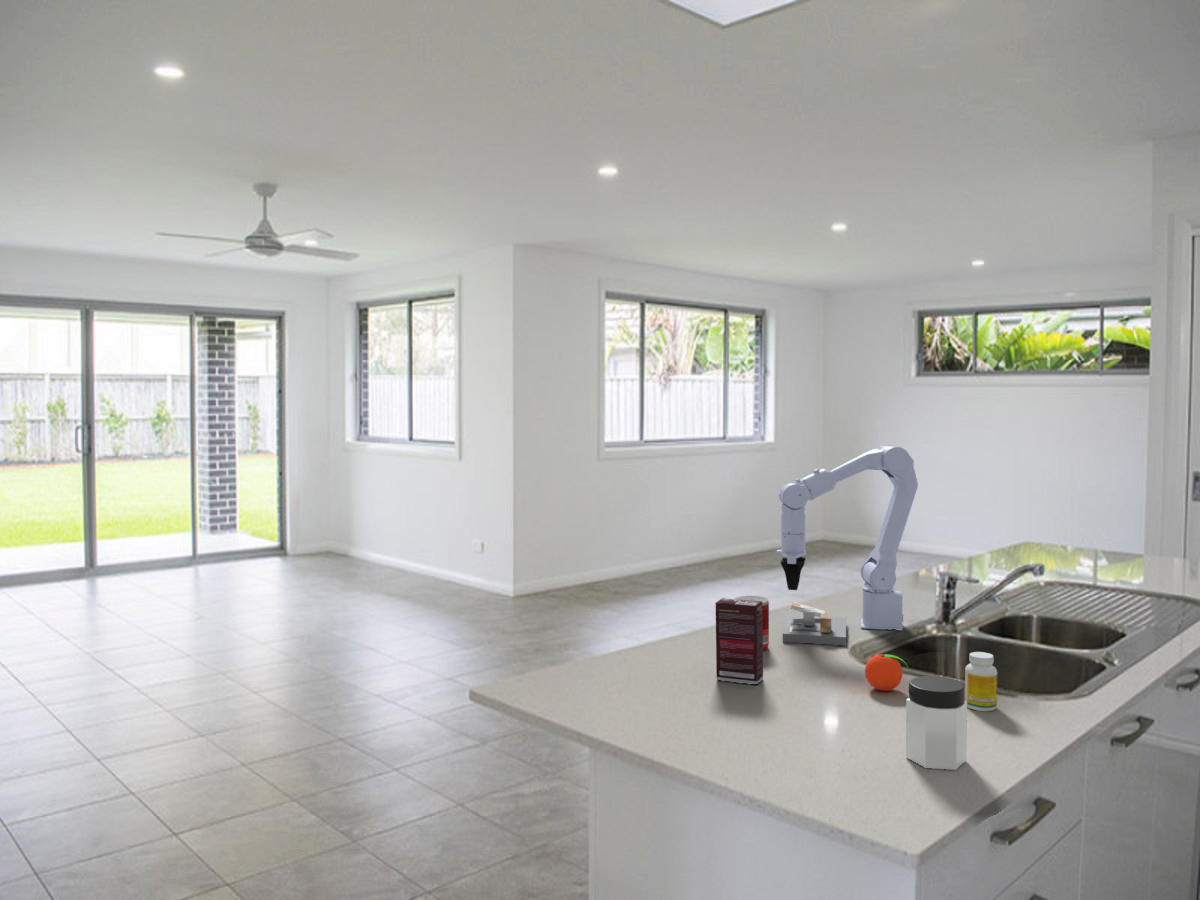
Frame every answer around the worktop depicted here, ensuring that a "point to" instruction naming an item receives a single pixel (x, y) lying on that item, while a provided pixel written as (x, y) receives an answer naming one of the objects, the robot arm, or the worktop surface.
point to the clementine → (884, 672)
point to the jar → (936, 722)
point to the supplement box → (739, 641)
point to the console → (814, 631)
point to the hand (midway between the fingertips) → (793, 588)
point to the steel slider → (809, 616)
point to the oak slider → (825, 623)
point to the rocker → (801, 607)
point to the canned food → (764, 614)
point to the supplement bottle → (981, 682)
